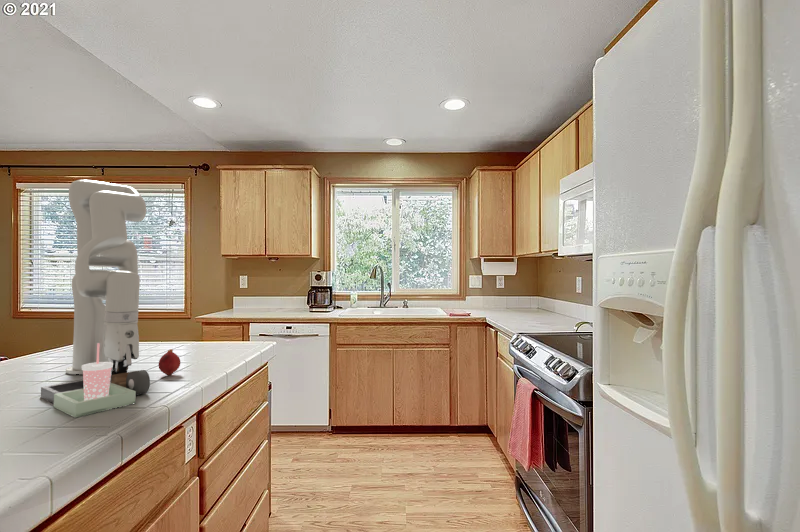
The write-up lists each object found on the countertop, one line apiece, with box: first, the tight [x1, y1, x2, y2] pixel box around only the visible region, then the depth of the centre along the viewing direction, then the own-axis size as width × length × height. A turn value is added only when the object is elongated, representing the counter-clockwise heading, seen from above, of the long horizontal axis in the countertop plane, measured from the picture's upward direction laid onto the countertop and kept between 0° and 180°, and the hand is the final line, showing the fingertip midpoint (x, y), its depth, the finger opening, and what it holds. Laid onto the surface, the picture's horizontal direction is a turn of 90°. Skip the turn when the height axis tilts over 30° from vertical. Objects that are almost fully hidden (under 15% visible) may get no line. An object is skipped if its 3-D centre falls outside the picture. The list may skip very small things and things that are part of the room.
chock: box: [112, 370, 135, 388], centre depth 110 cm, size 5×6×4 cm
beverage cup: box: [82, 343, 113, 401], centre depth 97 cm, size 6×6×14 cm
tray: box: [53, 382, 137, 418], centre depth 97 cm, size 12×12×3 cm
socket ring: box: [40, 379, 84, 404], centre depth 104 cm, size 10×10×2 cm
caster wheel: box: [126, 369, 151, 396], centre depth 106 cm, size 6×3×6 cm, turn 57°
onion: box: [158, 348, 181, 376], centre depth 126 cm, size 6×6×8 cm
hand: (118, 384), depth 112 cm, fingers closed
